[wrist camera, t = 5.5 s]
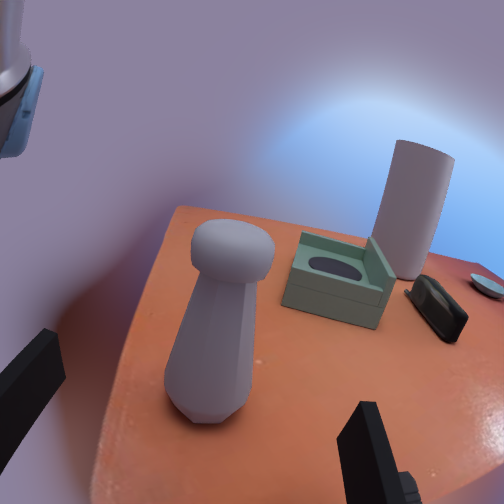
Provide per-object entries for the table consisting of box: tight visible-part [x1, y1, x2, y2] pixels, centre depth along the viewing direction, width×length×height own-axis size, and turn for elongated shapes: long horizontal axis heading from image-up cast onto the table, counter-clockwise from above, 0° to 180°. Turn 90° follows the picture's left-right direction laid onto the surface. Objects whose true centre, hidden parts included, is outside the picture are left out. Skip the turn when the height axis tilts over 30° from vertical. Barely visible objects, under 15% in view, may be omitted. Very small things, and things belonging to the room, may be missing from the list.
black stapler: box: [404, 274, 469, 342], centre depth 40 cm, size 5×3×15 cm
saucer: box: [471, 274, 504, 298], centre depth 59 cm, size 12×12×2 cm
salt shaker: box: [164, 219, 275, 423], centre depth 18 cm, size 6×6×13 cm
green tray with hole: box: [281, 230, 397, 330], centre depth 43 cm, size 12×18×7 cm, turn 167°
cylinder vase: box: [371, 140, 455, 280], centre depth 55 cm, size 12×12×25 cm
